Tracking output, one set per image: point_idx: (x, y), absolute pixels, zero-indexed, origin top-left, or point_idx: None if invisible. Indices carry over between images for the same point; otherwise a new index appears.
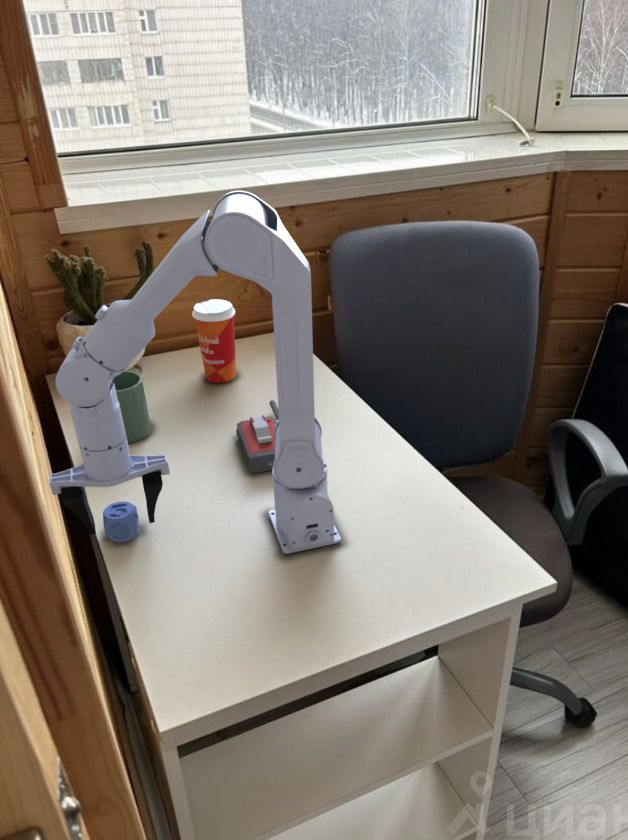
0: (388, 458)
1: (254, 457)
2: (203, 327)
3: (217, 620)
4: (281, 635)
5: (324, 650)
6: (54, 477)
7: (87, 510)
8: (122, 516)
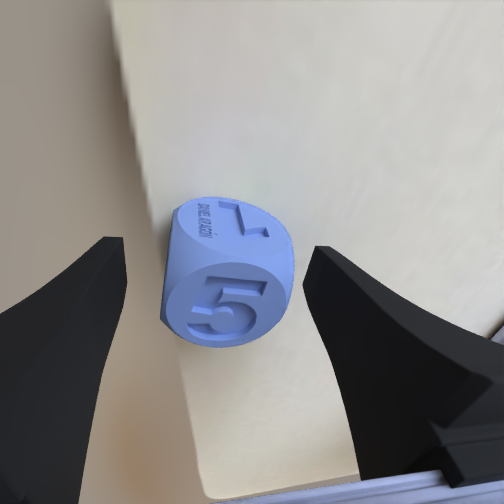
0: None
1: None
2: None
3: (304, 437)
4: (353, 453)
5: None
6: None
7: (93, 397)
8: (233, 343)
